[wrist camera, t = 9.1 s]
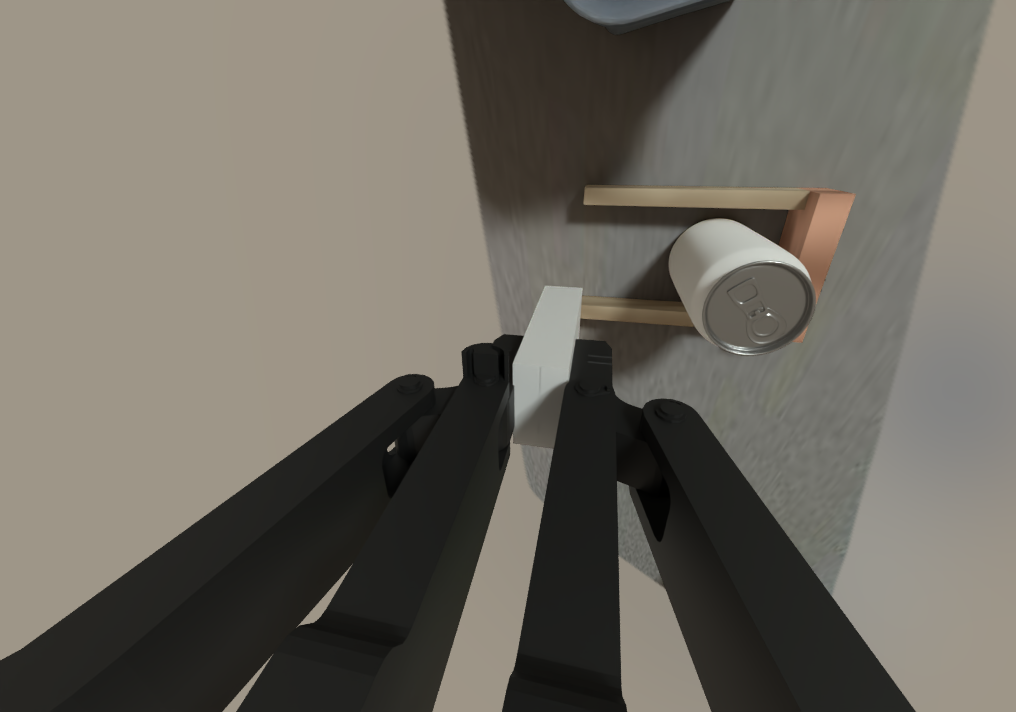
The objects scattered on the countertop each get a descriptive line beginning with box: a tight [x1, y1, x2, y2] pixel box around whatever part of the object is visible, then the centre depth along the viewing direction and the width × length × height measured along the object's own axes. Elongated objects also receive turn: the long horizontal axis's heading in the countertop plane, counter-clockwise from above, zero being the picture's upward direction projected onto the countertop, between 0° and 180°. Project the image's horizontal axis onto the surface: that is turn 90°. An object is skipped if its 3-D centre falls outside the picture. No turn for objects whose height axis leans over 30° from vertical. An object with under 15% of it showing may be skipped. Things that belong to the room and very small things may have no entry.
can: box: [669, 218, 816, 356], centre depth 28 cm, size 6×6×12 cm
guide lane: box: [580, 185, 856, 342], centre depth 32 cm, size 10×17×4 cm, turn 91°
